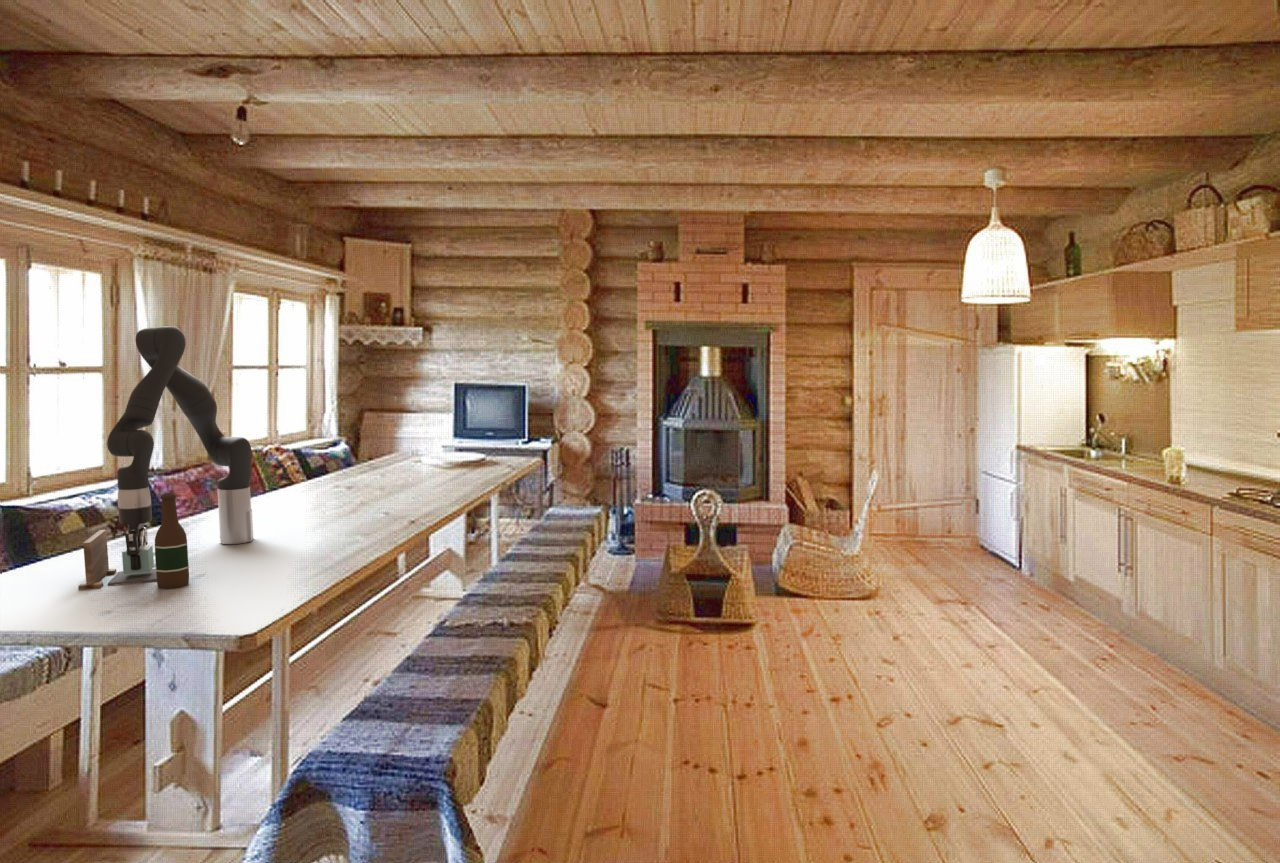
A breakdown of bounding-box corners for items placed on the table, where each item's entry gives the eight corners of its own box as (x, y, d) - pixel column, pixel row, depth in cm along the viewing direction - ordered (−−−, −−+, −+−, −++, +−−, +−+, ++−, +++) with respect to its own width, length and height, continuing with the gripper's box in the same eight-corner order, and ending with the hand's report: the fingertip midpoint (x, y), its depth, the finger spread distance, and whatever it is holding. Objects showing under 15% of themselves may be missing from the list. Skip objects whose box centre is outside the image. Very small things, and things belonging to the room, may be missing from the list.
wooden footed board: (116, 572, 229) (113, 529, 228) (101, 587, 214) (98, 541, 213) (95, 574, 227) (92, 530, 226) (78, 589, 212) (75, 543, 211)
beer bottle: (165, 581, 220) (159, 491, 217) (195, 580, 220) (190, 490, 218) (150, 590, 212) (144, 496, 210) (182, 589, 213) (176, 495, 210)
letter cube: (153, 566, 228) (152, 543, 227) (149, 571, 222) (147, 548, 221) (128, 568, 226) (127, 545, 225) (123, 574, 220) (121, 550, 219)
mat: (168, 569, 232) (168, 567, 232) (160, 580, 220) (160, 578, 220) (118, 573, 228) (118, 571, 227) (107, 585, 216) (107, 583, 216)
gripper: (145, 508, 217) (149, 572, 218) (156, 499, 230) (159, 559, 232) (111, 510, 214) (116, 575, 216) (124, 501, 227) (128, 561, 229)
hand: (138, 566), depth 224 cm, fingers closed on letter cube, 6 cm apart
